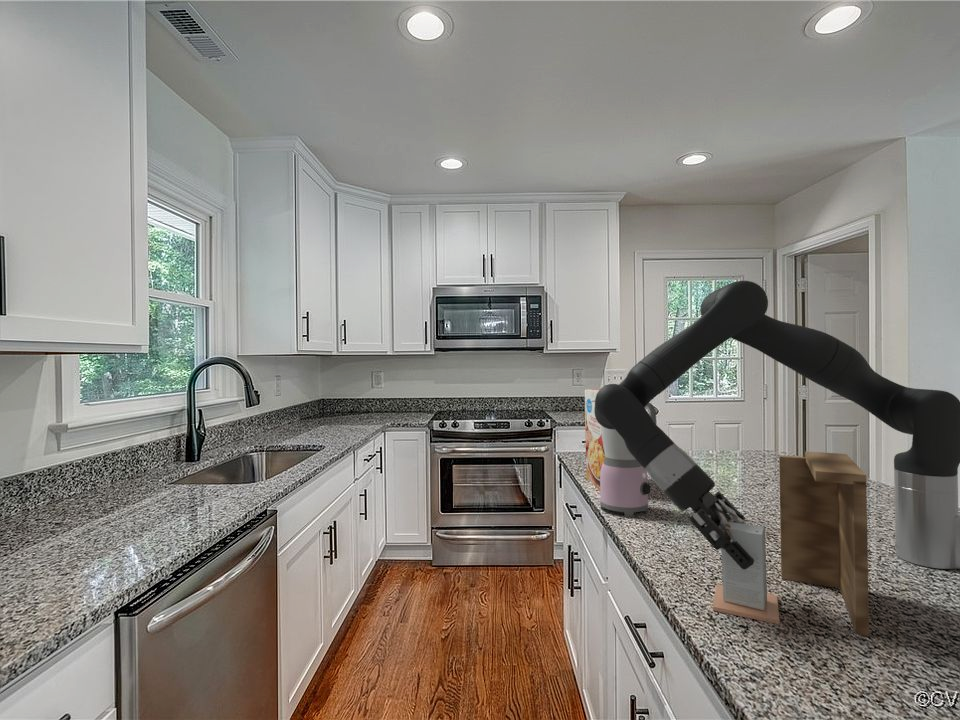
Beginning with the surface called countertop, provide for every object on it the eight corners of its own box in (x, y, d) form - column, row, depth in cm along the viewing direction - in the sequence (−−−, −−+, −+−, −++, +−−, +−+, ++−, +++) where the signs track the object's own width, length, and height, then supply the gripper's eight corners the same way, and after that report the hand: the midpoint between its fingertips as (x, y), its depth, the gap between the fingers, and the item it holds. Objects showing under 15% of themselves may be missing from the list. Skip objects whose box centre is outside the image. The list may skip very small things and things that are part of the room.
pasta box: (586, 477, 168) (584, 389, 168) (609, 477, 168) (608, 389, 168) (605, 496, 145) (603, 394, 145) (632, 495, 145) (630, 393, 145)
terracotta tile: (777, 598, 82) (777, 595, 82) (779, 624, 74) (779, 620, 74) (716, 587, 86) (716, 583, 86) (713, 610, 78) (713, 606, 78)
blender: (590, 509, 132) (588, 390, 132) (616, 500, 140) (614, 387, 140) (644, 523, 120) (642, 392, 120) (669, 512, 128) (667, 389, 128)
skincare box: (767, 600, 80) (766, 526, 80) (764, 611, 76) (763, 534, 76) (726, 591, 83) (724, 520, 83) (721, 601, 80) (720, 527, 80)
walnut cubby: (848, 586, 85) (846, 453, 85) (869, 636, 70) (866, 474, 70) (781, 575, 90) (778, 449, 90) (786, 619, 75) (783, 468, 75)
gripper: (683, 470, 79) (766, 559, 72) (704, 456, 90) (778, 531, 83) (650, 498, 82) (727, 585, 75) (675, 481, 93) (744, 555, 86)
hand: (754, 557), depth 79 cm, fingers open, 8 cm apart
